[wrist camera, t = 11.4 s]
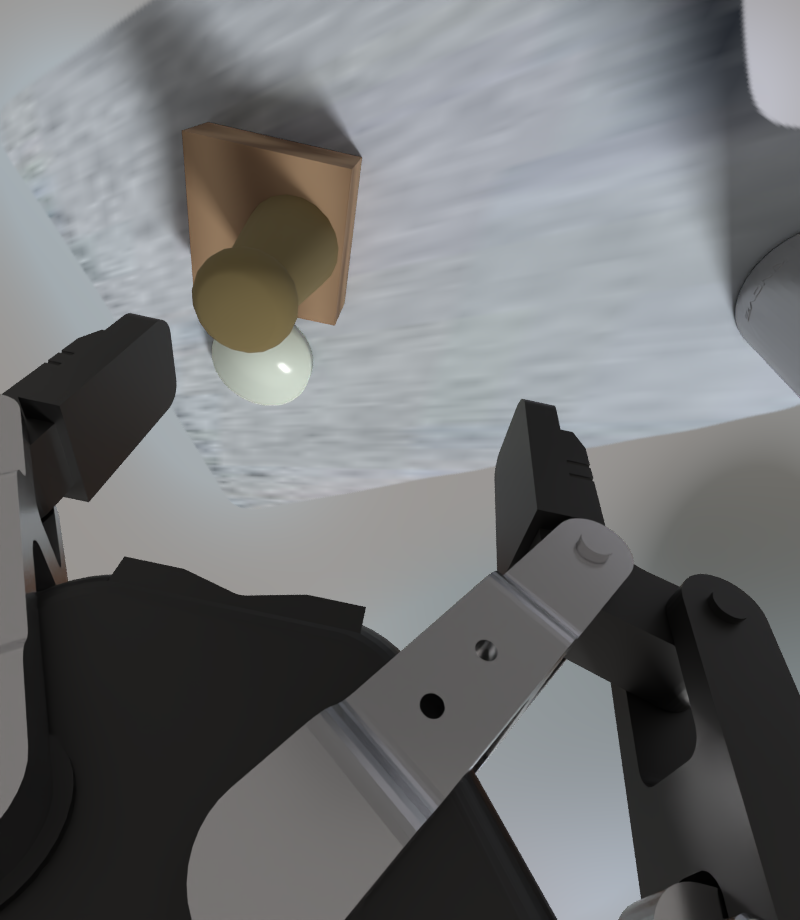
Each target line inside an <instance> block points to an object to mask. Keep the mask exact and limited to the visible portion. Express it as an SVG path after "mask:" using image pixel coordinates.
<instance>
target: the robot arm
mask: <svg viewBox="0 0 800 920" xmlns="http://www.w3.org/2000/svg"><path fill="white" fill-rule="evenodd" d="M735 319H736V323H737V328H738V330H739V332H740V333H741V335H742V337H743V338H744V339H745V340H746V341H747V343H748V344H749V345H750V346H751V347H752V348H753V349H754V350H755V351H756V352H757V353H758V354H759V355H760V356H761V357H762V358H763V359H764V360H765V361H766V363H767V364H768V365H769V366H770V367H771V368H772V369H773V370H774V371H775V372H776V373H777V374H778V376H779V377H780V378H781V379H782V380H783V381H784V382H785V383H786V384H787V385H788V386H789V387H790V388H791V389H792V390H793V391H794V392H795V393H796V395H797V396H798V397H799V398H800V233H799V234H798V235H796V236H794V237H792V238H790V239H788V240H787V241H785V242H783V243H782V244H780V245H779V246H778V247H776V248H775V249H774V250H772V251H771V252H770V253H769V254H767V255H766V256H765V257H764V258H763V259H762V260H761V261H760V262H759V263H758V264H757V265H756V267H755V268H754V269H753V271H752V272H751V273H750V275H749V276H748V277H747V279H746V281H745V283H744V285H743V287H742V289H741V290H740V292H739V296H738V299H737V303H736V311H735ZM175 393H176V374H175V366H174V358H173V350H172V341H171V333H170V329H169V326H168V324H167V323H166V322H165V321H164V320H160V319H155V318H150V317H146V316H141V315H137V314H132V313H128V314H126V315H124V316H123V317H121V318H120V319H119V320H118V321H116V322H115V323H114V324H112V325H111V326H110V327H108V328H107V329H106V330H100V331H97V332H94V333H91V334H89V335H86V336H83V337H80V338H78V339H76V340H75V341H74V342H73V343H71V344H70V345H68V346H67V347H65V348H64V349H63V350H62V353H57V354H56V355H55V356H53V357H52V358H50V359H49V360H48V363H44V364H42V365H41V366H40V367H38V368H37V369H36V370H34V371H33V372H31V373H30V374H29V375H27V376H26V377H25V378H23V379H22V380H21V381H19V382H18V383H16V384H15V385H14V386H12V387H11V388H10V389H8V390H7V391H6V392H4V393H3V394H0V920H557V918H556V916H555V915H554V913H553V911H552V909H551V908H550V906H549V904H548V902H547V900H546V899H545V897H544V895H543V893H542V891H541V890H540V888H539V886H538V884H537V883H536V881H535V879H534V877H533V876H532V874H531V872H530V870H529V868H528V867H527V865H526V863H525V861H524V859H523V858H522V856H521V854H520V852H519V851H518V849H517V847H516V846H515V844H514V842H513V840H512V838H511V837H510V835H509V833H508V831H507V829H506V828H505V826H504V824H503V822H502V821H501V819H500V817H499V815H498V813H497V812H496V810H495V808H494V806H493V805H492V803H491V801H490V799H489V797H488V796H487V794H486V792H485V790H484V789H483V787H482V785H481V783H480V781H479V779H478V778H477V776H476V773H477V772H478V771H479V770H480V768H481V767H482V766H483V765H484V763H485V762H486V761H487V760H488V758H489V757H490V756H491V755H492V753H493V752H494V751H495V749H496V748H497V747H498V745H499V744H500V743H501V742H502V740H503V739H504V738H505V736H506V735H507V734H508V733H509V731H510V730H511V729H512V727H513V726H514V725H515V723H516V722H517V721H518V720H519V718H520V717H521V716H522V714H523V713H524V712H525V711H526V710H527V708H528V707H529V706H530V705H531V703H532V702H533V701H534V700H535V698H536V697H537V696H538V695H539V693H540V692H541V691H542V690H543V688H544V687H545V686H546V685H547V683H548V682H549V681H550V679H551V678H552V677H553V676H554V675H555V673H556V672H557V671H558V670H559V668H560V667H561V666H562V665H563V663H564V662H565V661H566V660H567V659H568V660H569V661H571V662H573V663H575V664H577V665H579V666H581V667H583V668H585V669H586V670H588V671H590V672H592V673H594V674H596V675H598V676H600V677H602V678H604V679H606V680H607V681H609V682H611V688H612V695H613V702H614V709H615V717H616V723H617V731H618V738H619V745H620V752H621V759H622V766H623V773H624V780H625V787H626V794H627V801H628V809H629V816H630V823H631V830H632V837H633V844H634V851H635V858H636V865H637V873H638V880H639V886H640V894H641V900H639V901H637V902H634V903H633V904H631V905H630V906H628V907H627V908H626V909H625V910H624V911H623V912H622V914H621V916H620V917H619V919H618V920H800V695H799V692H798V690H797V688H796V685H795V683H794V681H793V678H792V677H791V674H790V672H789V669H788V667H787V665H786V662H785V660H784V658H783V655H782V653H781V651H780V649H779V646H778V644H777V641H776V639H775V637H774V634H773V632H772V630H771V628H770V625H769V623H768V621H767V618H766V617H765V615H764V613H763V611H762V610H761V609H760V607H759V606H758V605H757V604H756V602H755V601H754V600H753V599H752V598H751V597H750V596H748V595H747V594H746V593H745V592H744V591H742V590H741V589H740V588H738V587H737V586H735V585H733V584H732V583H730V582H728V581H726V580H724V579H721V578H718V577H715V576H712V575H706V574H697V575H693V576H690V577H689V578H687V579H686V580H685V581H684V582H683V584H682V585H681V586H680V587H679V586H677V585H674V584H672V583H670V582H668V581H666V580H664V579H662V578H659V577H657V576H655V575H653V574H651V573H649V572H646V571H645V570H643V569H641V568H639V567H637V566H636V565H634V560H633V556H632V553H631V551H630V549H629V547H628V546H627V544H626V543H625V542H624V541H623V539H622V538H621V537H620V536H618V535H617V534H616V533H615V532H614V531H612V530H611V529H609V528H608V527H606V526H605V523H604V519H603V515H602V512H601V507H600V503H599V499H598V496H597V491H596V488H595V484H594V482H593V481H592V480H593V476H592V472H591V469H590V468H589V465H590V464H589V461H588V456H587V452H586V448H585V447H584V446H583V445H582V443H581V442H580V441H579V440H578V438H577V437H576V436H575V434H574V433H573V432H569V431H564V430H560V426H559V421H558V416H557V411H556V407H555V406H553V405H548V404H544V403H539V402H535V401H530V400H525V399H521V400H520V402H519V403H518V405H517V408H516V410H515V413H514V416H513V418H512V421H511V423H510V426H509V429H508V431H507V434H506V436H505V439H504V442H503V444H502V447H501V449H500V452H499V455H498V459H497V463H496V468H495V509H496V546H497V571H494V572H492V573H491V574H489V575H488V576H487V577H485V578H484V579H483V580H482V581H481V582H480V583H478V584H477V585H476V586H475V587H474V588H473V589H472V590H471V591H469V592H468V593H467V594H466V595H465V596H464V597H463V598H461V599H460V600H459V601H458V602H457V603H456V604H455V605H453V606H452V607H451V608H450V609H449V610H448V611H446V612H445V613H444V614H443V615H442V616H441V617H440V618H439V619H437V620H436V621H435V622H434V623H433V624H432V625H430V626H429V627H428V628H427V629H426V630H425V631H424V632H422V633H421V634H420V635H419V636H418V637H417V638H416V639H414V640H413V641H412V642H411V643H410V644H409V645H408V646H406V647H405V648H404V649H403V650H402V651H400V650H399V649H398V648H397V647H395V646H394V645H393V644H392V643H391V642H389V641H388V640H387V639H386V638H384V637H382V636H381V635H379V634H378V633H376V632H375V631H373V630H371V629H369V628H367V627H365V626H363V625H362V623H363V618H364V613H365V608H366V607H363V606H358V605H353V604H348V603H344V602H339V601H334V600H330V599H325V598H320V597H315V596H310V595H259V596H258V595H257V596H244V595H238V594H235V593H233V592H231V591H229V590H227V589H224V588H222V587H220V586H218V585H216V584H214V583H212V582H210V581H208V580H206V579H204V578H202V577H199V576H197V575H195V574H193V573H191V572H189V571H187V570H185V569H182V568H177V567H172V566H167V565H162V564H157V563H153V562H148V561H143V560H138V559H134V558H129V557H124V558H123V560H122V561H121V562H120V564H119V565H118V567H117V568H116V570H115V571H114V572H113V574H112V575H101V576H92V577H86V578H81V579H76V580H72V581H68V577H67V569H66V562H65V555H64V548H63V540H62V533H61V526H60V519H59V514H58V511H57V508H56V504H57V503H58V502H59V501H60V500H61V499H62V498H63V497H67V498H72V499H76V500H82V501H86V502H89V501H90V500H91V499H92V498H93V497H94V495H95V494H96V493H97V492H98V491H99V490H100V488H101V487H102V486H103V485H104V484H105V483H106V481H107V480H108V479H109V478H110V477H111V475H112V474H113V473H114V472H115V471H116V469H118V467H119V466H120V465H121V464H122V463H123V461H124V460H125V459H126V458H127V457H128V456H129V455H130V453H131V452H132V451H133V450H134V449H135V447H136V446H137V445H138V444H139V443H140V442H141V440H142V439H143V438H144V437H145V436H146V434H147V433H148V432H149V431H150V430H151V429H152V427H153V426H154V425H155V424H156V423H157V422H158V421H159V419H160V418H161V417H162V416H163V414H165V412H166V411H167V410H168V409H169V408H170V406H171V404H172V402H173V400H174V397H175Z"/></svg>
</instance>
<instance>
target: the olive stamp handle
mask: <svg viewBox="0 0 800 920" xmlns="http://www.w3.org/2000/svg"><path fill="white" fill-rule="evenodd" d="M338 249H339V248H338V243H337V238H336V233H335V231H334V229H333V227H332V225H331V223H330V221H329V219H328V218H327V217H326V216H325V215H324V214H323V212H322V211H321V210H320V209H319V208H318V207H317V206H316V205H314V204H312V203H310V202H309V201H307V200H305V199H304V198H301V197H297V196H292V195H288V194H286V195H278V196H272V197H270V198H268V199H267V200H265V201H263V202H261V203H260V204H259V205H258V206H257V207H256V209H255V210H254V211H253V212H252V214H251V215H250V217H249V219H248V220H247V222H246V224H245V226H244V227H243V229H242V231H241V233H240V234H239V236H238V238H237V240H236V241H235V243H234V245H233V247H232V248H227V249H223V250H221V251H219V252H217V253H216V254H214V255H212V256H210V257H209V258H208V259H207V260H206V261H205V262H204V263H203V265H202V266H201V267H200V269H199V270H198V271H197V274H196V277H195V281H194V284H193V288H192V299H193V306H194V309H195V311H196V314H197V317H198V319H199V321H200V323H201V325H202V326H203V327H204V329H205V330H206V331H207V333H208V334H209V335H210V336H211V337H213V338H214V339H215V340H216V341H217V342H219V343H220V344H222V345H224V346H226V347H228V348H230V349H232V350H236V351H241V352H246V353H257V352H264V351H267V350H269V349H271V348H274V347H276V346H277V345H279V344H280V343H281V342H282V341H283V340H284V339H285V338H286V337H287V336H288V335H289V334H290V333H291V331H292V329H293V326H294V324H295V322H296V319H297V317H298V306H299V305H300V304H301V303H302V302H303V301H304V300H306V299H307V298H308V297H309V296H310V295H311V294H312V293H313V292H315V291H316V290H317V289H318V288H319V287H320V286H321V285H322V284H323V283H324V282H325V281H326V280H327V279H328V278H329V277H330V276H331V275H332V273H333V271H334V268H335V266H336V264H337V258H338Z"/></svg>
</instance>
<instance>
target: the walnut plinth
mask: <svg viewBox="0 0 800 920" xmlns="http://www.w3.org/2000/svg"><path fill="white" fill-rule="evenodd" d="M182 139H183V153H184V166H185V180H186V193H187V207H188V221H189V234H190V248H191V261H192V275H193V284H194V281H195V277H196V274H197V271H198V270H199V269H200V267H201V266H202V265H203V263H204V262H205V261H206V260H207V259H208V258H209V257H210V256H212V255H214V254H216V253H217V252H219V251H221V250H223V249H227V248H232V247H233V245H234V243H235V241H236V240H237V238H238V236H239V234H240V233H241V231H242V229H243V227H244V226H245V224H246V222H247V220H248V219H249V217H250V215H251V214H252V212H253V211H254V210H255V209H256V207H257V206H258V205H259V204H260V203H261V202H263V201H265V200H267V199H268V198H270V197H272V196H278V195H286V194H288V195H292V196H297V197H301V198H304V199H305V200H307V201H309V202H310V203H312V204H314V205H316V206H317V207H318V208H319V209H320V210H321V211H322V212H323V214H324V215H325V216H326V217H327V218H328V219H329V221H330V223H331V225H332V227H333V229H334V231H335V233H336V238H337V243H338V248H339V249H338V258H337V264H336V266H335V268H334V271H333V273H332V275H331V276H330V277H329V278H328V279H327V280H326V281H325V282H324V283H323V284H322V285H321V286H320V287H319V288H318V289H317V290H316V291H315V292H313V293H312V294H311V295H310V296H309V297H308V298H307V299H306V300H304V301H303V302H302V303H301V304H300V305H299V306H298V317H297V318H302V319H306V320H311V321H316V322H320V323H325V324H330V325H334V326H335V324H336V321H337V319H338V317H339V315H340V312H341V310H342V308H343V305H344V303H345V294H346V286H347V278H348V269H349V261H350V253H351V245H352V236H353V228H354V220H355V211H356V203H357V195H358V187H359V178H360V170H361V162H362V157H358V156H354V155H350V154H345V153H341V152H337V151H332V150H328V149H323V148H319V147H315V146H310V145H306V144H302V143H297V142H293V141H288V140H284V139H280V138H275V137H271V136H267V135H262V134H258V133H253V132H249V131H245V130H240V129H236V128H232V127H227V126H223V125H218V124H214V123H210V122H207V123H204V124H201V125H198V126H194V127H191V128H188V129H185V130H182Z"/></svg>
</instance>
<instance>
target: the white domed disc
mask: <svg viewBox="0 0 800 920" xmlns="http://www.w3.org/2000/svg"><path fill="white" fill-rule="evenodd" d="M212 360H213V364H214V367H215V369H216V372H217V373H218V375H219V377H220V378H221V380H222V381H223V382H224V384H225V385H226V386H227V387H228V388H229V389H230V390H231V391H233V392H234V393H235V394H237V395H238V396H240V397H241V398H243V399H245V400H247V401H250V402H253V403H256V404H260V405H267V406H275V405H282V404H285V403H288V402H290V401H292V400H294V399H295V398H297V397H298V396H299V395H300V394H301V393H302V391H303V390H304V388H305V387H306V385H307V382H308V380H309V378H310V376H311V373H312V369H313V355H312V351H311V348H310V345H309V343H308V341H307V339H306V338H305V336H304V335H303V333H302V332H301V331H300V330H299V329H298V328H297V327H296V326H295V325H294V326H293V329H292V331H291V333H290V334H289V335H288V336H287V337H286V338H285V339H284V340H283V341H282V342H281V343H280V344H279V345H277V346H276V347H274V348H271V349H269V350H267V351H264V352H257V353H246V352H241V351H236V350H232V349H230V348H228V347H226V346H224V345H222V344H220V343H219V342H217V341H216V340H215V339H214V341H213V345H212Z"/></svg>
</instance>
